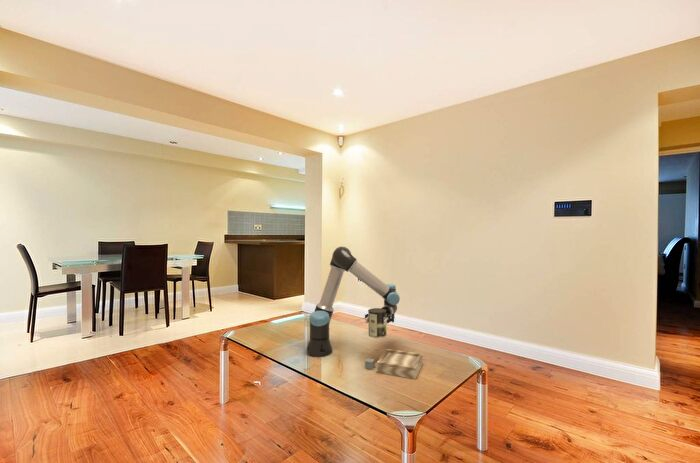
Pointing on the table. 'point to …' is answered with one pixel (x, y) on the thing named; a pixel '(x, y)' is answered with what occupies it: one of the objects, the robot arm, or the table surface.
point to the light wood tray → (400, 363)
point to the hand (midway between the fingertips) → (375, 322)
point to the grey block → (369, 363)
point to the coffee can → (377, 323)
